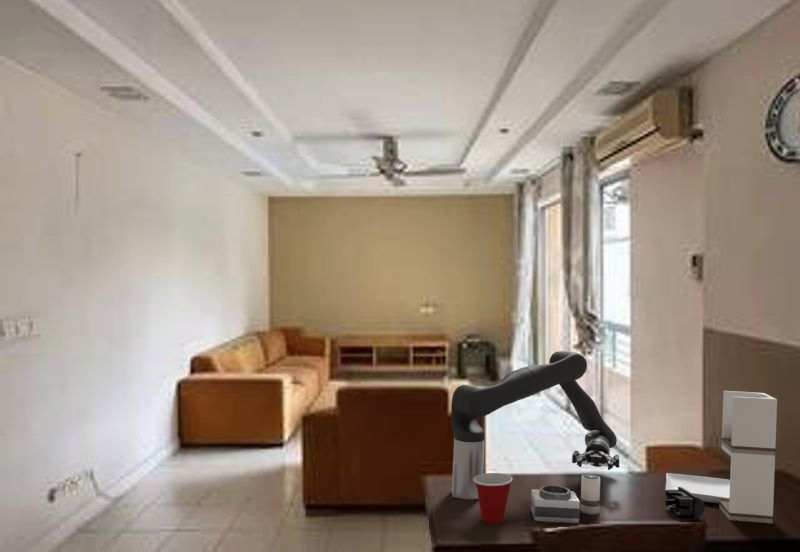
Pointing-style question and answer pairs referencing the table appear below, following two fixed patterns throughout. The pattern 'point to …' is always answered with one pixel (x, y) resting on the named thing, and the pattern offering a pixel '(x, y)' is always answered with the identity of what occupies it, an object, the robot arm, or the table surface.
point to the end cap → (684, 504)
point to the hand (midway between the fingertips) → (594, 465)
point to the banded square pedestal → (555, 504)
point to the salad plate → (700, 486)
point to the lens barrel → (590, 494)
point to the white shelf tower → (749, 455)
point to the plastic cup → (493, 495)
